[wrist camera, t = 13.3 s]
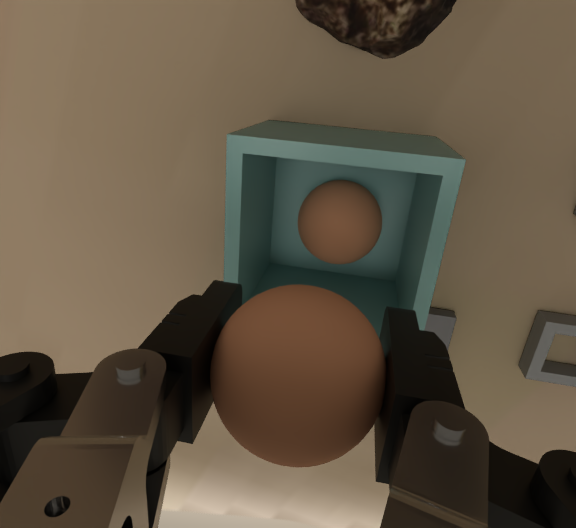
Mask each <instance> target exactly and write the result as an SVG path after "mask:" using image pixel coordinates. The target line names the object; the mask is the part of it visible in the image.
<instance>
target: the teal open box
mask: <svg viewBox="0 0 576 528" xmlns="http://www.w3.org/2000/svg"><path fill="white" fill-rule="evenodd" d="M465 162H466V159H464V158H463V157H462V156H460V155H459V154H458V153H457V152H455V151H454V150H453V149H451V148H450V147H449V146H448V145H446V144H445V143H444V142H442V141H441V140H440V139H439V138H437V137H434V136H425V135H415V134H405V133H395V132H385V131H375V130H365V129H355V128H345V127H335V126H325V125H315V124H305V123H295V122H285V121H275V120H268V121H265V122H262V123H259V124H256V125H253V126H250V127H247V128H244V129H241V130H238V131H235V132H232V133H229V134H227V154H226V201H225V248H224V282H231V283H238V284H241V285H242V305H243V304H244V303H246V302H247V301H248V300H249V299H251V298H253V297H254V296H256V295H258V294H260V293H262V292H264V291H267V290H269V289H272V288H276V287H279V286H285V285H299V284H300V285H311V286H316V287H320V288H323V289H326V290H329V291H332V292H334V293H336V294H338V295H340V296H342V297H344V298H345V299H347V300H348V301H350V302H351V303H352V304H353V305H355V306H356V307H357V308H358V309H359V310H360V311H361V312H362V313H363V314H364V315H365V317H366V318H367V319H368V320H369V322H370V323H371V325H372V326H373V328H374V329H375V331H376V333H377V335H378V337H380V332H381V327H382V322H383V317H384V312H385V309H386V307H387V306H389V307H395V308H402V309H409V310H415V312H416V316H417V321H418V325H419V330H423V331H424V330H425V325H426V321H427V317H428V313H429V309H430V305H431V301H432V297H433V293H434V289H435V284H436V280H437V276H438V272H439V268H440V264H441V260H442V256H443V252H444V248H445V243H446V239H447V235H448V231H449V227H450V223H451V219H452V215H453V211H454V207H455V203H456V198H457V194H458V190H459V186H460V182H461V178H462V174H463V170H464V166H465ZM333 180H348V181H352V182H355V183H358V184H360V185H362V186H363V187H365V188H366V189H367V190H369V191H370V192H371V193H372V195H373V196H374V197H375V199H376V200H377V202H378V204H379V206H380V209H381V213H382V230H381V234H380V237H379V239H378V241H377V243H376V245H375V246H374V247H373V249H372V250H371V251H370V252H369V253H368V254H367V255H365V256H364V257H362V258H361V259H359V260H357V261H355V262H352V263H348V264H331V263H327V262H324V261H322V260H320V259H318V258H317V257H315V256H314V255H313V254H311V253H310V252H309V251H308V250H307V248H306V247H305V246H304V244H303V242H302V240H301V238H300V235H299V231H298V214H299V210H300V207H301V205H302V203H303V201H304V199H305V198H306V197H307V195H308V194H309V193H310V192H311V191H312V190H313V189H315V188H316V187H317V186H319V185H321V184H323V183H326V182H328V181H333Z"/></svg>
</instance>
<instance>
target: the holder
mask: <svg viewBox="0 0 576 528" xmlns="http://www.w3.org/2000/svg"><path fill="white" fill-rule="evenodd" d="M555 334H562V335H568V336H575V337H576V316H573V315H566V314H560V313H553V312H546V311H539V310H538V312H537V315H536V318H535V321H534V323H533V326H532V329H531V332H530V335H529V337H528V340H527V343H526V346H525V348H524V351H523V354H522V357H521V359H520V362H519V365H518V366H519V367H520V369H521V371H522V373H523V375H524V377H525V378H526V379H531V380H537V381H543V382H549V383H555V384H561V385H567V386H573V387H576V365H570V364H564V363H558V362H552V361H546V360H545V359H546V356H547V354H548V351H549V348H550V346H551V343H552V341H553V338H554V336H555Z"/></svg>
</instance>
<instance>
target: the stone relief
mask: <svg viewBox="0 0 576 528" xmlns="http://www.w3.org/2000/svg"><path fill="white" fill-rule="evenodd" d="M295 1H296V6H297V8H298V10H299V11H300V13H301V14H302V15H303V16H304V17H305V18H306V19H307V20H308V21H309V22H311V23H313V24H315V25H317V26H319V27H321V28H323V29H325V30H326V31H327V32H328V33H330V34H331V35H332V36H333V37H334V38H336V39H337V40H338V41H340V42H342V43H346V44H349V45H352V46H355V47H357V48H359V49H362V50H364V51H367V52H369V53H371V54H374V55H376V56H378V57H380V58H384V59H386V58H394V57H396V56H399V55H401V54H403V53H405V52H406V51H408V50H410V49H412V48H414V47H416V46H418V45H420V44H421V43H422V42H423V41H424V40H425V38H426V37H427V36H428V35H429V34H430V33H431V32H432V31H433V30H434V29H435V28H436V27H437V26H438V25H439V24H440V23H441V22H442V21H443V20H444V19H445V18H446V17H447V16H448V15H449V13H450V12H451V11H452V7H453V5H454V4H455V2H456V0H295Z"/></svg>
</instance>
